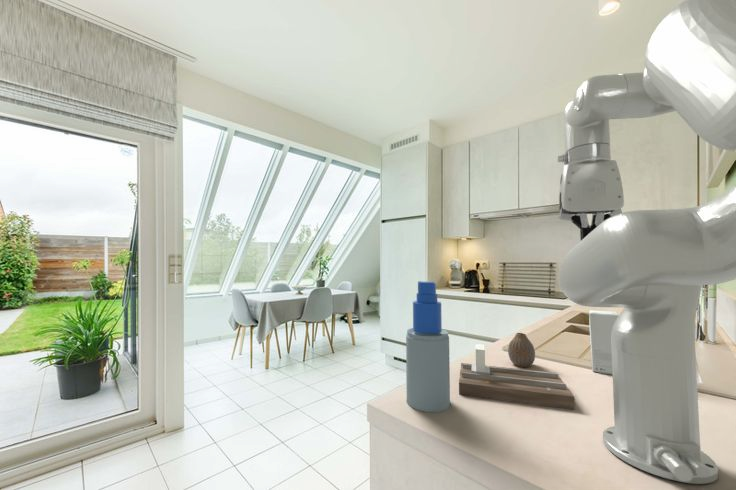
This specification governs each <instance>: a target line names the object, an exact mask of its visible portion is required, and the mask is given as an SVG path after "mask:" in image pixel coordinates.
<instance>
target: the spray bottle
mask: <svg viewBox="0 0 736 490" xmlns="http://www.w3.org/2000/svg"><path fill="white" fill-rule="evenodd" d="M442 324H443V322H442V302H441V301H439V300H438V293H437V284H436V281H422V280H421V281H420V280H419V281H417V293H416V300H414V301H412V328H408V329H407V331H406V335H405V338H406V339H405V341H406V342H405V347H406V349H405V352H406V354H405V355H406V359H405V360H406V361H405V362H406V363H405V364H406V367H405V368H406V379H405V380H406V381H405V382H406V403H407V405H408V406H409V407H411V408H412V409H414V410H417V411H420V412H425V413H439V412H444V411H446V410H447V409H449V408H450V405H451V393H450V392H451V380H450V377H451V376H450V372H451V371H450V370H451V369H450V336H449V332H448V331H447V330H446V329H442V326H443V325H442Z"/></svg>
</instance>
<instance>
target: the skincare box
mask: <svg viewBox="0 0 736 490" xmlns="http://www.w3.org/2000/svg"><path fill="white" fill-rule="evenodd" d="M588 313H589V315H588V316H589V317H588V319H589V322H588V323H589V342H590V356H591V359H590V360H591V369H592V370H591V371H592V372H595V373H600V374H605V375H610V376H611V375H612V350H611V333H612V328H613V325H614V323H615V321H616V319H617V318H618V316H619V313H618V312H617V311H612V310H611V311H610V310H609V311H608V310H593V309H592V310H589V311H588ZM612 376H613V375H612Z"/></svg>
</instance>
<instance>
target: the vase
mask: <svg viewBox="0 0 736 490" xmlns="http://www.w3.org/2000/svg"><path fill="white" fill-rule="evenodd" d="M507 352H508V353H507V355H508V358H509V360H510V362H511V363H512V364H513V365H514V366H516V367H520V368H530V367H531V366H532V365H533V364H534V362H535V359H536V351H535V346H534V344H533V343H532V342H531V340H530V339H529V338H528V336H527V334H526V333H524V332H517V333H515V335H514V337H513V338H512V339H511V341H510V342H509V344H508V347H507Z"/></svg>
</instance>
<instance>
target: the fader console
mask: <svg viewBox="0 0 736 490" xmlns="http://www.w3.org/2000/svg"><path fill="white" fill-rule="evenodd" d="M472 364H473V363H467V362H466V363H465V362H460V370H459V380H458V395H461V396H462V395H463V396H471V397H478V398H485V399H494V400H500V401H507V402H515V403H522V404H528V405H529V404H530V405H538V406H544V407H546V406H547V407H553V408H560V409H568V410H575V409H576V407H575V406H576V405H575V396H574V394H573V393H572V391H571V390H570V388H569V387H568V386H567V383H565V382H564V381H563V379H562V378H561V377H560V375H559V373H557V372H552V371H544V370H543V371H542V370H536V369H535V370H534V369H533V370H532V369H523V368H512V367H505V366H504V367H503V366H494V365H488V366H489V369H490V375H486V374H477V373H472ZM575 411H576V410H575Z"/></svg>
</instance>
